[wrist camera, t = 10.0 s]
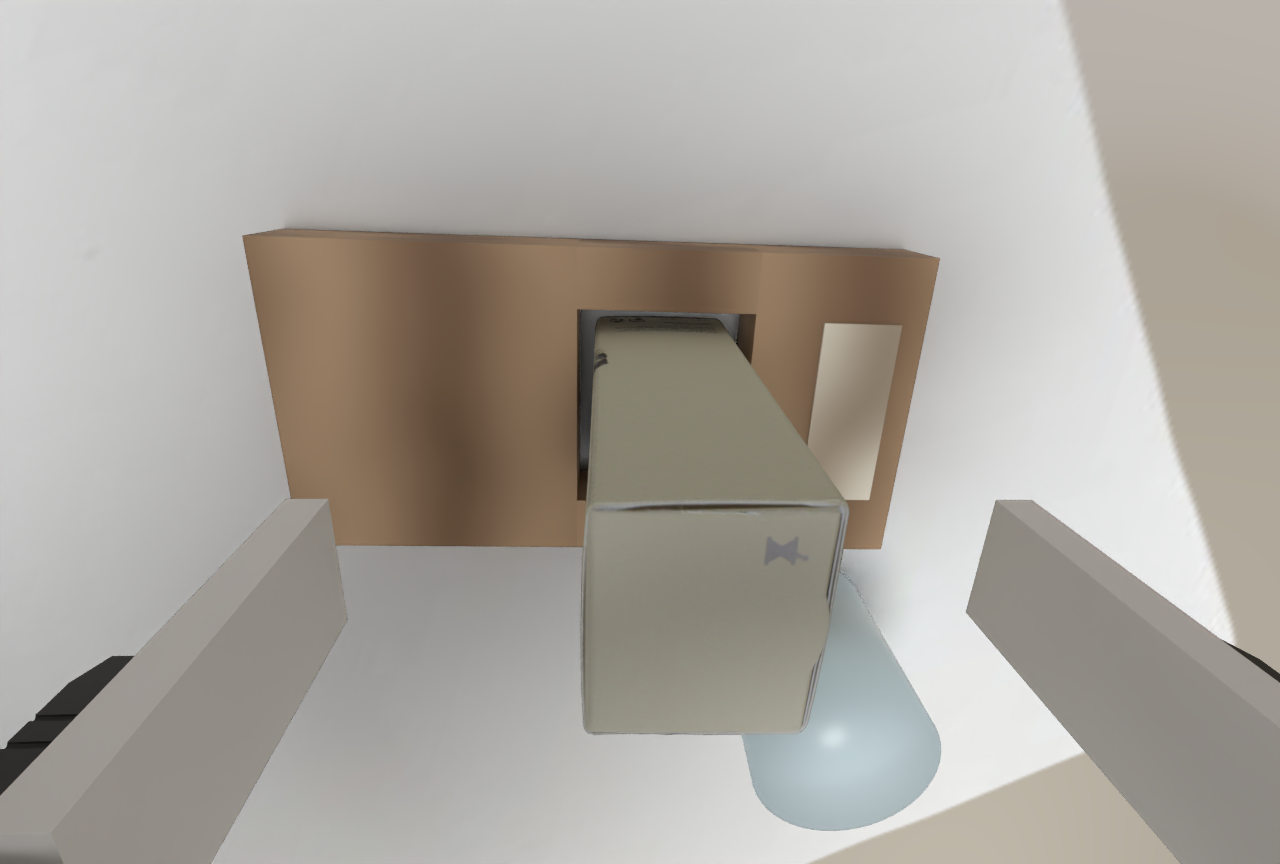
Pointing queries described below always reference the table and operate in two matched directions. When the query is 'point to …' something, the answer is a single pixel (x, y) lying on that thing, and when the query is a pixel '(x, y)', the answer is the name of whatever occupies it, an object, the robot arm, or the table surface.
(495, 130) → the table surface
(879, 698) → the pale blue capsule
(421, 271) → the brown flat wooden slab
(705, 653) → the box
